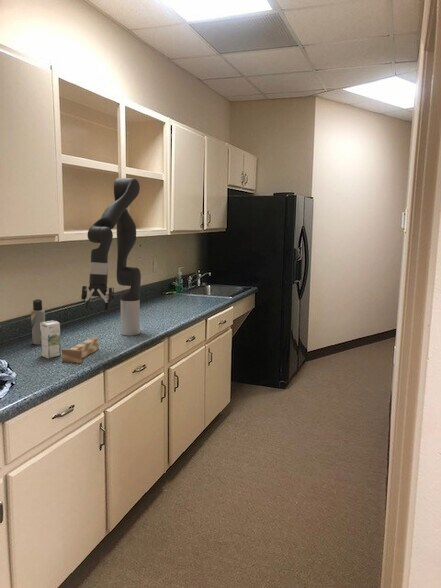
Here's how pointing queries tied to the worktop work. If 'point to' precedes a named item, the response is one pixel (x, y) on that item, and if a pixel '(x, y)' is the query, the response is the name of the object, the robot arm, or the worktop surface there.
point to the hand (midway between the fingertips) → (97, 310)
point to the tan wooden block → (80, 351)
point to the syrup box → (50, 339)
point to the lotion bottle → (37, 320)
